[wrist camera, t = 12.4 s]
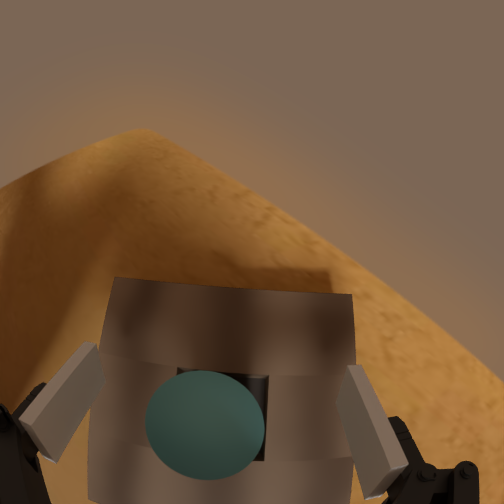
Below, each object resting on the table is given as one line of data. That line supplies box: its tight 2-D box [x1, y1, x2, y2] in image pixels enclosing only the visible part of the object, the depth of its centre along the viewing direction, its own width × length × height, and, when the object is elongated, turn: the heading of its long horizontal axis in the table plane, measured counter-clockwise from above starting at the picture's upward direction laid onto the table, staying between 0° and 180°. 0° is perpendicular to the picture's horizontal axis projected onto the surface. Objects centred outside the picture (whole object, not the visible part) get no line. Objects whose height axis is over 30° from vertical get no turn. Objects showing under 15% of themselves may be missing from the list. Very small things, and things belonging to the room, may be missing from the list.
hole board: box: [88, 277, 356, 504], centre depth 17 cm, size 18×18×4 cm
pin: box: [145, 370, 264, 480], centre depth 13 cm, size 4×4×12 cm
